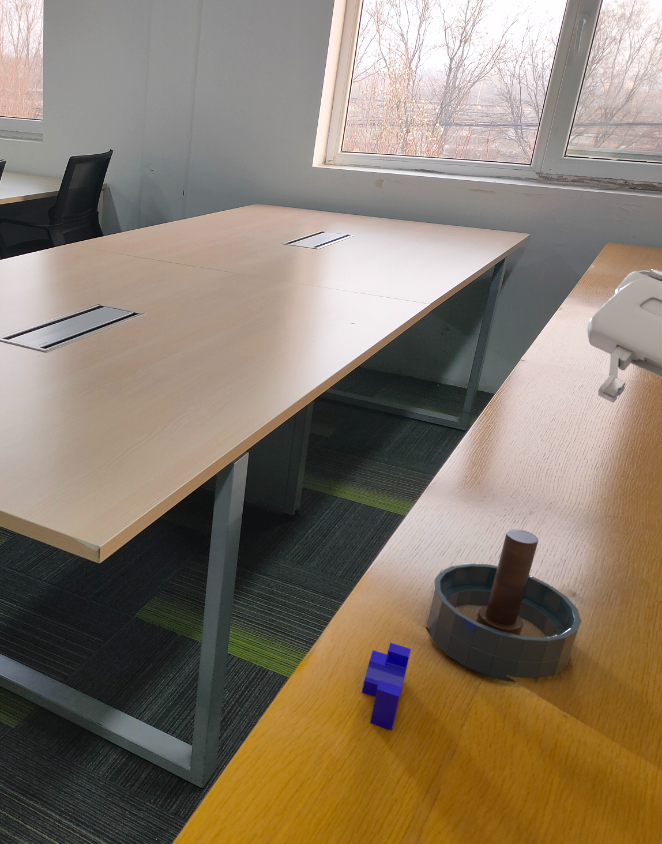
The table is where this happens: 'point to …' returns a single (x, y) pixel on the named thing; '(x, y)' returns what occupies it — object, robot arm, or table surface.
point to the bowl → (493, 647)
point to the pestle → (510, 583)
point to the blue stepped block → (386, 683)
